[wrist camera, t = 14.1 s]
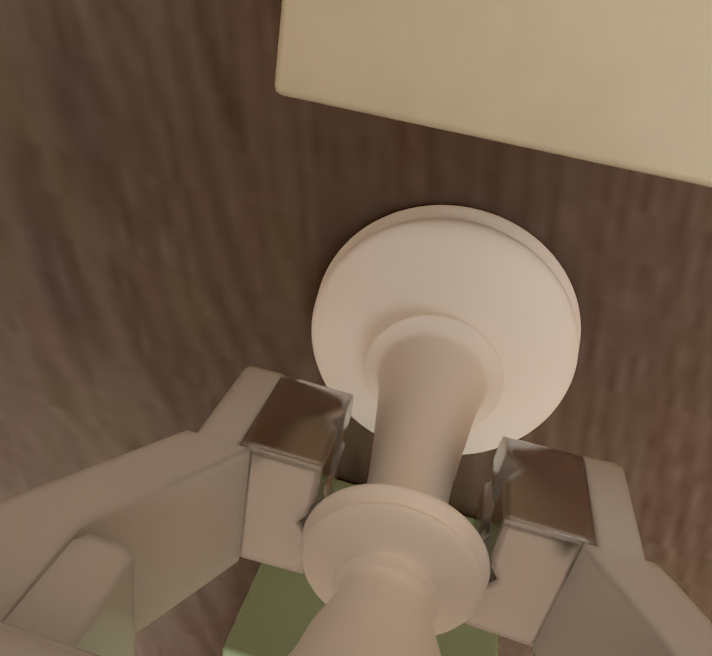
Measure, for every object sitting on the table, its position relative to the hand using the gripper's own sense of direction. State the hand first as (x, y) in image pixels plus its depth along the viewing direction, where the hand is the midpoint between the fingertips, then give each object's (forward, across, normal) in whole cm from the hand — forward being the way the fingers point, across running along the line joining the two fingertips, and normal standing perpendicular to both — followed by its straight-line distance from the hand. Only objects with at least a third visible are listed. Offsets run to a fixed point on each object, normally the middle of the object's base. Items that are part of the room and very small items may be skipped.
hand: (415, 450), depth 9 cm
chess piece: (+4, 0, 0) cm, 4 cm away
